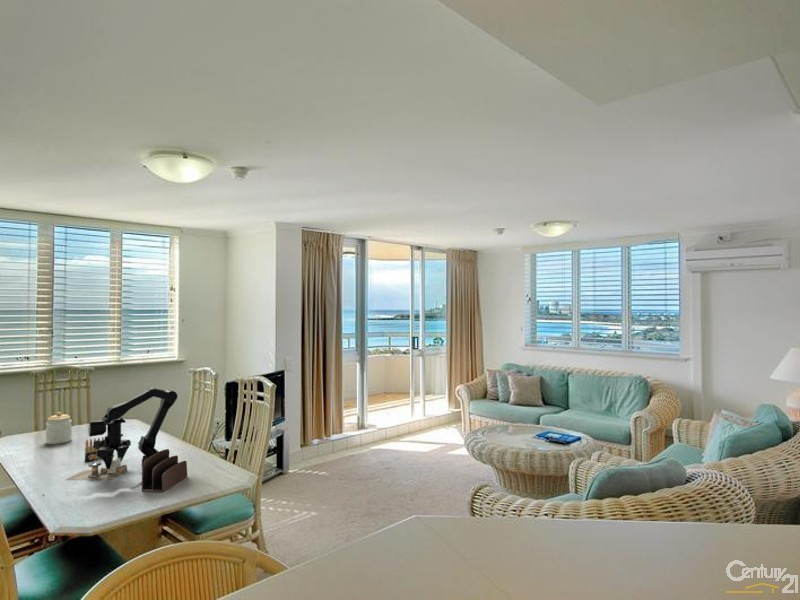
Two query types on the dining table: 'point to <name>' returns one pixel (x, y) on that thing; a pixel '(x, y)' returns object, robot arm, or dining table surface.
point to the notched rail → (119, 469)
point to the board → (84, 476)
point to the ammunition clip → (91, 452)
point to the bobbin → (94, 469)
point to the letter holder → (162, 472)
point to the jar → (58, 429)
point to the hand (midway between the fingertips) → (114, 465)
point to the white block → (114, 465)
